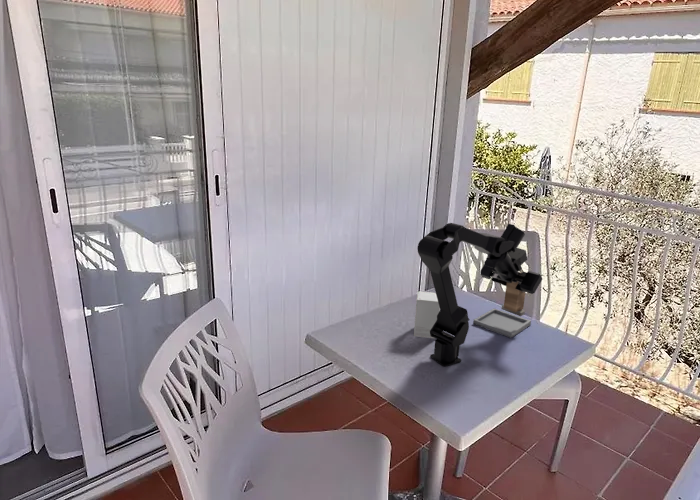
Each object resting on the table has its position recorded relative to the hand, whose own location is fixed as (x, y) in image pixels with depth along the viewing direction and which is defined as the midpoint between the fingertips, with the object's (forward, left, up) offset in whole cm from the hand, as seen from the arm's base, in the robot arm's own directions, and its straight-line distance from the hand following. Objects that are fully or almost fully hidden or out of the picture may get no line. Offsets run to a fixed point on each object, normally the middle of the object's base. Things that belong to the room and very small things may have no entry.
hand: (518, 289), depth 156 cm
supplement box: (-29, +9, -14) cm, 33 cm away
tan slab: (-1, 0, -8) cm, 8 cm away
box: (-2, +3, -13) cm, 14 cm away
